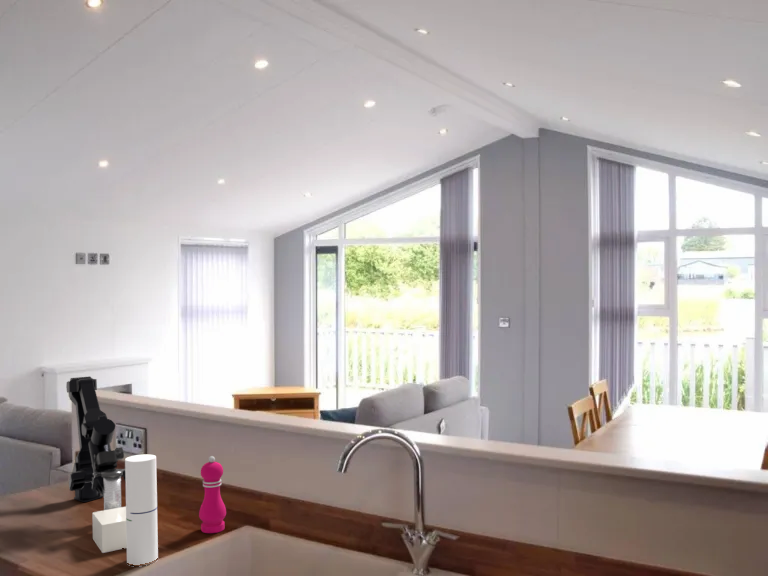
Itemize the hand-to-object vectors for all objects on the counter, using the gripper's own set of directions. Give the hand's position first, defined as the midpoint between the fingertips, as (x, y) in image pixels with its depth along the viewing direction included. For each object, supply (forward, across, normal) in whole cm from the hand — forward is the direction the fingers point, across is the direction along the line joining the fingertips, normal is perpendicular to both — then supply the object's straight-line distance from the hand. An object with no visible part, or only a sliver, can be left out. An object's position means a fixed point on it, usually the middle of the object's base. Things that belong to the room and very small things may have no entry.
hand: (110, 502), depth 195 cm
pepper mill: (+18, +23, -8) cm, 30 cm away
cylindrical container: (+26, +1, -16) cm, 30 cm away
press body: (+14, 0, -4) cm, 14 cm away
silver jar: (+9, 0, 0) cm, 9 cm away
